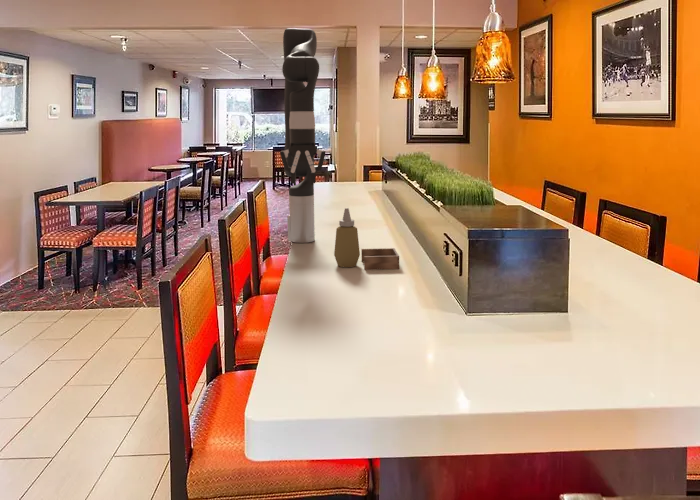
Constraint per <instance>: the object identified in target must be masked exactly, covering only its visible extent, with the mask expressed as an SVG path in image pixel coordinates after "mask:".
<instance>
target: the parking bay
mask: <svg viewBox="0 0 700 500" xmlns="http://www.w3.org/2000/svg"><path fill="white" fill-rule="evenodd" d="M361 262H364V263H363V264H364V265H363V267H364V269H363V270H366V271H367V270H368V271H369V270H399V269H400V254H399V253H398V252H397V250H396V248H394V247H393V248H392V247H391V248H387V247H385V248H361Z"/></svg>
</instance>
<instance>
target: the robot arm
mask: <svg viewBox="0 0 700 500" xmlns="http://www.w3.org/2000/svg"><path fill="white" fill-rule="evenodd" d="M317 38H318V37H317V34H316V32H315V30H314V29H311V28H296V27H287V28H285V29H284V31H283V37H282V42H283V43H282V46H283V48H282V49H283V63H282V70H281V71H282V75H283V78H284V103H283V104H284V132H285V134H284V136H285V138H284V150H281V151H280V152H279V155H280V158H281V162H282V164H283V168H284V174H285V176H287V177H290V182H291V184H293V185H292V186H290V187H289V188H288V204H289V205H288V207H289V210H288V211H289V215H287V241H288V242H292V243H298V244H302V243H306V244H307V243H312V242H314V241H315V239H316V238H315V236H316V234H315V233H316V232H315V229H316V227H315V196H314V195H315V190H314V189H315V184H316V181H317V180H316V174H317V172H319V171H322V168H323V165H324V160H325V157H326V151H325V150H321V149H317V145H316V118H315V112H314V111H315V106H314V105H315V104H314V103H315V102H314V101H315V100H314V99H315V98H314V97H315V89H316V84H317V81H318V78H319V75H320V63H319V61H318V60H317V58H316V57H315V56H316V52H317V48H318V47H317V45H318V41H317ZM305 83H306V85H305ZM316 154H317V157H318V158H319V160H318V165H317V166H315V155H316ZM296 177H298V178H299V177H301V178H302V177H304V179H303V180H302V181H301V182H299V183H297V179H296Z"/></svg>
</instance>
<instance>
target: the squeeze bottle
mask: <svg viewBox="0 0 700 500" xmlns="http://www.w3.org/2000/svg"><path fill="white" fill-rule="evenodd" d="M338 222H339V224H338V225H339V226H337V227H336V232H335V240H334V241H335V242H334V252H333V256H334V259H335V261H336V264H337V266H338V267H341V268H353V267H354V268H355V266H356V267H357V265H358V262H359V259H360V256H361V254H360V244H359V235H358V234H359V233H358V228H357V226H355V219H352V218H351V214H350V209H349V207H345V208H344V211H343V216H342V219H339V221H338Z"/></svg>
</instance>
